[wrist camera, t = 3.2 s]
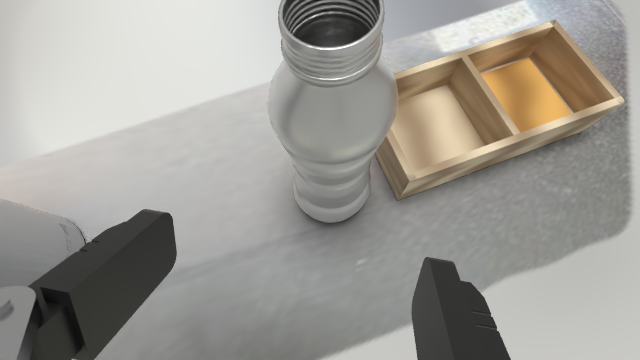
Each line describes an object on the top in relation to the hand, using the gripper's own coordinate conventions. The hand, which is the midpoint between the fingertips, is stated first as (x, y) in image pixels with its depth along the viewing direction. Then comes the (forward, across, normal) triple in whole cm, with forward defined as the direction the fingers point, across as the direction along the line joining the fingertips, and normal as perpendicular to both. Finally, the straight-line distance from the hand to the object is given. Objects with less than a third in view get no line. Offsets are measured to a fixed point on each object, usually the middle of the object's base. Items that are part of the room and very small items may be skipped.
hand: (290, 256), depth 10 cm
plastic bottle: (+18, 0, +7) cm, 20 cm away
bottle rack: (+25, -12, 0) cm, 28 cm away
